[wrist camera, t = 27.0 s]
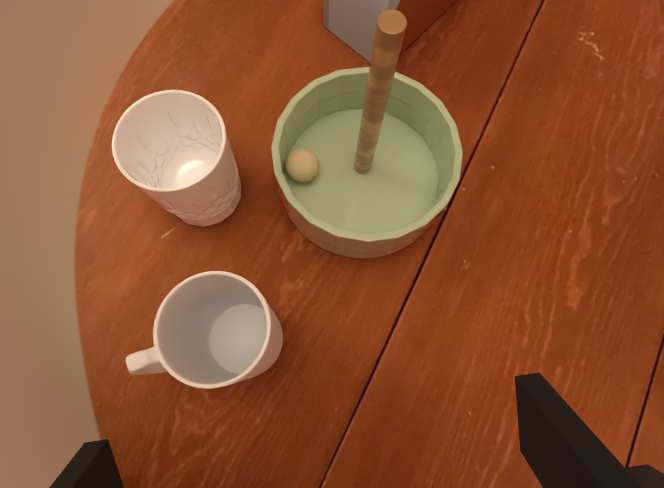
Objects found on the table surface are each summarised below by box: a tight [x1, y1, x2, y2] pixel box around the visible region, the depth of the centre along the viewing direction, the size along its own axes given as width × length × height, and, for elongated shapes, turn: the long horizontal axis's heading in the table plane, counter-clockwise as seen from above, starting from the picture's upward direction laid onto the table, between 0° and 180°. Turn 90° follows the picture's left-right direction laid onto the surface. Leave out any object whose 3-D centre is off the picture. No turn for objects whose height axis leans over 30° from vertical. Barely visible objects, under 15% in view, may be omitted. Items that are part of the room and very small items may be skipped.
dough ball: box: [286, 148, 319, 183], centre depth 39 cm, size 3×3×3 cm
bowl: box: [271, 67, 463, 258], centre depth 39 cm, size 15×15×6 cm
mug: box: [126, 271, 283, 388], centre depth 31 cm, size 10×7×12 cm, turn 111°
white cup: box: [112, 90, 241, 227], centre depth 36 cm, size 8×8×10 cm
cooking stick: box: [354, 10, 407, 174], centre depth 32 cm, size 2×2×18 cm
